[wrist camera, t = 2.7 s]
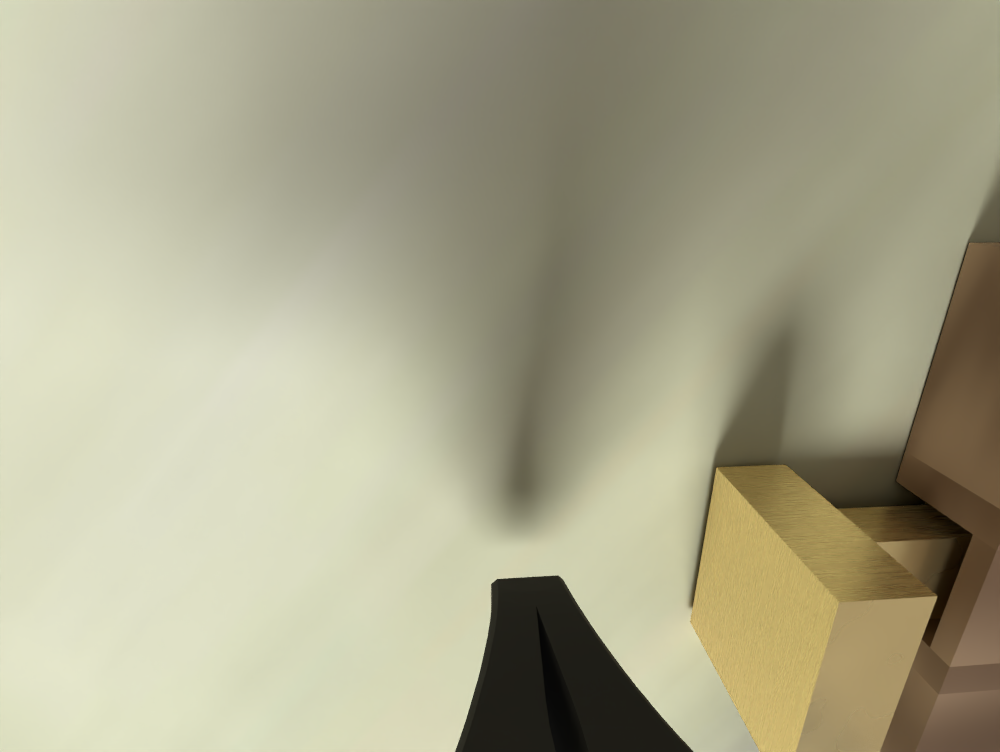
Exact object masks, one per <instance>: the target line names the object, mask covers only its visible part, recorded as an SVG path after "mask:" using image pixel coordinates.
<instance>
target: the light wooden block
mask: <svg viewBox="0 0 1000 752" xmlns="http://www.w3.org/2000/svg"><path fill="white" fill-rule="evenodd" d="M972 536H973V534H972V533H970V532H969V531H967V530H966V529H964V528H963V527H961V526H960V525H958V524H957V523H956V522H954V521H953V520H951V519H950V518H948V517H947V516H945V515H944V514H942V513H941V512H940V511H938V510H937V509H935V508H934V507H932V506H931V505H929V504H927V505H907V506H886V507H865V508H845V509H836V508H835V507H834V506H833V505H832V504H831V503H829V502H828V501H827V500H826V499H825V498H824V497H822V496H821V495H820V494H819V493H818V492H817V491H816V490H814V489H813V488H812V487H811V486H810V485H809V484H807V483H806V482H805V481H804V480H803V479H802V478H801V477H799V476H798V475H797V474H796V473H795V472H794V471H792V470H791V469H790V468H789V467H788V466H787V465H762V466H737V467H716V473H715V479H714V485H713V491H712V497H711V503H710V509H709V514H708V520H707V526H706V532H705V538H704V544H703V550H702V556H701V562H700V568H699V573H698V579H697V585H696V591H695V597H694V603H693V609H692V615H691V621H690V622H691V624H692V626H693V628H694V630H695V632H696V633H697V635H698V637H699V639H700V641H701V643H702V645H703V647H704V648H705V650H706V652H707V654H708V656H709V658H710V660H711V661H712V663H713V665H714V667H715V669H716V671H717V673H718V674H719V676H720V678H721V680H722V682H723V684H724V686H725V687H726V689H727V691H728V693H729V695H730V697H731V699H732V701H733V702H734V704H735V706H736V708H737V710H738V712H739V714H740V715H741V717H742V719H743V721H744V723H745V725H746V727H747V728H748V730H749V732H750V734H751V736H752V738H753V740H754V742H755V743H756V745H757V747H758V749H759V751H760V752H880V750H881V747H882V745H883V742H884V739H885V737H886V734H887V731H888V729H889V726H890V723H891V721H892V718H893V715H894V712H895V710H896V707H897V704H898V702H899V699H900V696H901V694H902V691H903V688H904V685H905V683H906V680H907V677H908V675H909V672H910V669H911V667H912V664H913V661H914V659H915V656H916V653H917V650H918V648H919V645H920V642H921V640H922V637H923V634H924V632H925V629H926V626H927V624H928V621H929V619H935V618H941V617H942V615H943V612H944V609H945V607H946V604H947V602H948V599H949V596H950V594H951V591H952V588H953V586H954V583H955V581H956V578H957V575H958V573H959V570H960V567H961V565H962V562H963V560H964V557H965V554H966V552H967V549H968V547H969V544H970V541H971V539H972Z"/></svg>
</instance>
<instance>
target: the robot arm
mask: <svg viewBox="0 0 1000 752" xmlns="http://www.w3.org/2000/svg"><path fill="white" fill-rule="evenodd" d="M455 752H693V751H692V750H691V749H690V747H689V746H688V745H687V744H686V743H685V742H684V741H683V740H682V739H681V738H680V737H679V736H678V735H677V734H676V732H675V731H674V730H673V729H672V728H671V727H670V726H669V725H668V723H667V722H666V721H665V720H664V719H663V718H662V717H661V715H660V714H659V713H658V712H657V711H656V710H655V708H654V707H653V706H652V705H651V704H650V702H649V701H648V700H647V699H646V698H645V696H644V695H643V694H642V693H641V691H640V690H639V689H638V688H637V687H636V685H635V684H634V683H633V682H632V680H631V679H630V678H629V676H628V675H627V674H626V673H625V671H624V670H623V669H622V667H621V666H620V665H619V663H618V662H617V661H616V659H615V658H614V657H613V655H612V654H611V652H610V651H609V650H608V648H607V647H606V646H605V644H604V643H603V642H602V640H601V639H600V637H599V636H598V634H597V633H596V632H595V630H594V629H593V627H592V626H591V624H590V623H589V621H588V620H587V618H586V617H585V615H584V614H583V612H582V611H581V609H580V607H579V606H578V604H577V603H576V601H575V599H574V598H573V596H572V594H571V593H570V591H569V589H568V588H567V586H566V584H565V582H564V580H563V579H562V578H560V577H559V576H543V577H525V578H508V579H497V580H496V581H495V582H493V583H492V584H491V619H490V626H489V632H488V638H487V643H486V647H485V652H484V656H483V661H482V665H481V670H480V674H479V678H478V681H477V685H476V688H475V692H474V695H473V698H472V702H471V705H470V709H469V712H468V715H467V719H466V722H465V725H464V728H463V731H462V734H461V737H460V740H459V743H458V745H457V748H456V751H455Z"/></svg>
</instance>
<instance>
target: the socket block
mask: <svg viewBox="0 0 1000 752" xmlns="http://www.w3.org/2000/svg"><path fill="white" fill-rule="evenodd" d="M896 482H898V483H899V484H900V485H902V486H903V487H905V488H906V489H908V490H909V491H911V492H912V493H913V494H915V495H916V496H918V497H919V498H921V499H922V500H924V501H925V502H927V503H928V504H929V505H931V506H932V507H934V508H935V509H937V510H938V511H940V512H941V513H942V514H944V515H945V516H947V517H948V518H950V519H951V520H953V521H954V522H956V523H957V524H958V525H960V526H961V527H963V528H964V529H966V530H967V531H969V532H970V533H972V534H973V536H972V539H971V541H970V544H969V547H968V549H967V552H966V554H965V557H964V560H963V562H962V565H961V567H960V570H959V573H958V575H957V578H956V581H955V583H954V586H953V588H952V591H951V594H950V596H949V599H948V602H947V604H946V607H945V609H944V612H943V615H942V617H941V618H935V619H929V621H928V624H927V626H926V629H925V632H924V634H923V637H922V640H921V642H920V645H919V648H918V650H917V653H916V656H915V659H914V661H913V664H912V667H911V669H910V672H909V675H908V677H907V680H906V683H905V685H904V688H903V691H902V694H901V696H900V699H899V702H898V704H897V707H896V710H895V712H894V715H893V718H892V721H891V723H890V726H889V729H888V731H887V734H886V737H885V739H884V742H883V745H882V747H881V750H880V752H1000V242H994V243H969V245H968V248H967V252H966V255H965V258H964V261H963V265H962V268H961V271H960V274H959V278H958V281H957V284H956V287H955V291H954V294H953V297H952V300H951V304H950V307H949V310H948V313H947V317H946V320H945V323H944V326H943V330H942V333H941V336H940V339H939V343H938V346H937V349H936V352H935V356H934V359H933V362H932V366H931V369H930V372H929V375H928V379H927V382H926V385H925V388H924V392H923V395H922V398H921V401H920V405H919V408H918V411H917V414H916V418H915V421H914V424H913V427H912V431H911V434H910V437H909V440H908V444H907V447H906V450H905V453H904V457H903V460H902V463H901V466H900V470H899V473H898V476H897V479H896Z"/></svg>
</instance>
